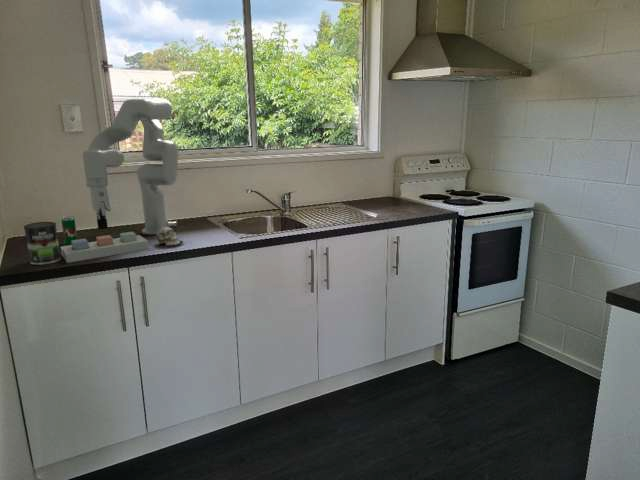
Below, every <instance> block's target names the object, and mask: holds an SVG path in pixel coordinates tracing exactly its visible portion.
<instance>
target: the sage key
mask: <svg viewBox="0 0 640 480" xmlns="http://www.w3.org/2000/svg"><path fill="white" fill-rule="evenodd" d="M136 235H137V234H136V233H135V232H134V231H127V232H121V233H119V238H120V239H121V242H123V243H125V242H131V241H137V240H136Z"/></svg>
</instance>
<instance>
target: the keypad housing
mask: <svg viewBox="0 0 640 480" xmlns="http://www.w3.org/2000/svg"><path fill="white" fill-rule="evenodd" d="M136 240H137V241H131V242H125V243H123V242H121V239H120V237H117V238H113V244H112V245H106V246H100V247H99V246H98V245H97V240H96V241H91V242H89V241H88V245H89V248H87V249H81V250H74V251H73V249H72V245H69V246H67V245H63V246H60V253H61V255H62V256H61V257H63V259H64V260H65V262H66V263H67V264H68V263H74V262H81V261H86V260H87V261H88V260H92V259H98V258H104V257H109V256H114V255H115V256H116V255H121V254H127V253H131V252H132V253H134V252H139V251H143V250H144V251H146V250H149V249H150V247H149V240H147V238H144V237H143V236H142V235H140V234H136Z"/></svg>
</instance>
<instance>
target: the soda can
mask: <svg viewBox="0 0 640 480" xmlns="http://www.w3.org/2000/svg"><path fill="white" fill-rule="evenodd" d="M60 221H61V222H60V223H61V228H62V233H63V240H64V241H63V242H64V246H69V245H72V243H71V241H72V240H78V232H77V225H76V219H75V217H74V216H73V215H66V216H62V217H61V220H60Z"/></svg>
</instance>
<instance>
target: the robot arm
mask: <svg viewBox="0 0 640 480" xmlns="http://www.w3.org/2000/svg"><path fill="white" fill-rule="evenodd" d="M172 113H173V106H172V104H171V102H170V101H169V100H168V99H165V98H136V99H135V98H133V99H126V100H124V102H123V103H122V104H121V106H120V109H118V112H117V114H116V116H115V117H114V119H113V121H112V124H110V125H109V126H108V127H106V128H105V129H103V130H102V131H101V132H100V133H98V134H97V135H96V136H95V137H94V138H93V139H92V141H90V144H89V146H88V147H87V149H86V150H84V151H82V162H83V167H84V169H83V170H84V175H85V185H86V187H87V188H89V192H90V203H91V207H92V209H93V211H94V212H95V214H96V223H97V229H98V230H105V229H108V228H109V227H108V221H107V219H108V218H107V212H110V211H112V210H111V209H112V208H111V205H110V199H109V193H108V188H107V187H108V186H109V182H108V174H107V168H118V167H120V166H122V164H123V163H124V161H125V155H124V152H122V151H121V150H120V149H117V148H114V147H113V148H112V146H113V145H115V144H117V143H120V142H123V141H126V140H127V139H130V138H131V137H132V136H133V134H134V132H135V130H136V127H137V125H138V124H139V122H141V124H142V127H143V140H142V157H143V159H145V160H146V161H149V162H160V163H159V164H158V163H144V164H142V165H140V166H139V167H138V169H137V170H136V171H137V172H136V176H137V180H138V183H139V186H140V193H141V200H142V208H143V219H144V228H142V230H141V233H142V234H144V235H154V236H155V235H157V233H158V231H159V230H160V229H162V228H163V227H170V228H171V227H174V226H177V224H178V222H177V221H176V220H175V221H168V220H167V218H166V217H167V215H166V208H165V207H166V206H165V195H164V192H163V189H162V187H161V186H166V187H167V186H173V185H174V184H175V183H176V181H177V176H178V165H179V164H178V163H179V149H178V146H177V144H176V143H175V142H174V141H172V140H169V139H168V140H164V134H165V133H164V132H165V131H164V127H163V125H162V124H161V122H160V121H159V120H165V119H166V120H167V119H168V118H170V117H171V116H172ZM110 147H111V148H110ZM161 162H162V163H161Z"/></svg>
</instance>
